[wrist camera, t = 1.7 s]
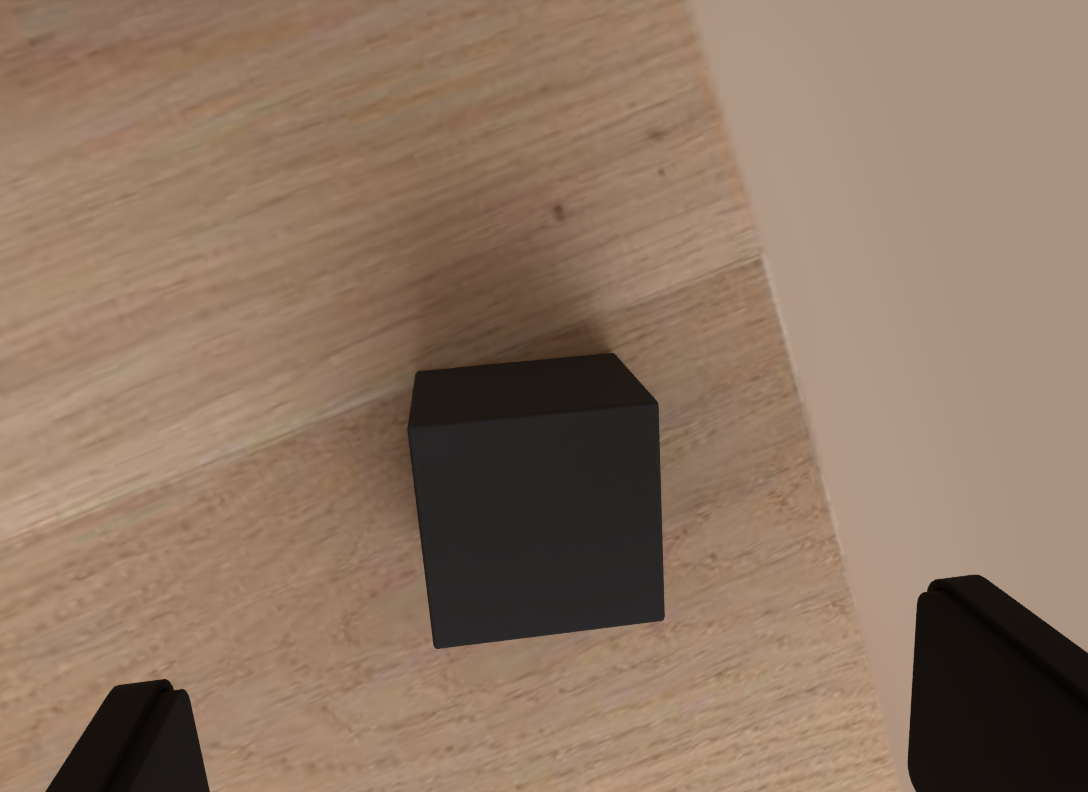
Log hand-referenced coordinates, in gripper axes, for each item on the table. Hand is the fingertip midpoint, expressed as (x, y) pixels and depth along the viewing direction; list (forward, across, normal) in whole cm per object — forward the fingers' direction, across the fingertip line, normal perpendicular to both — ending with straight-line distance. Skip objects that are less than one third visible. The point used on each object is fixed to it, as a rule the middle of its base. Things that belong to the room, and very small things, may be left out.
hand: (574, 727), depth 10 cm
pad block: (+9, 0, 0) cm, 9 cm away
